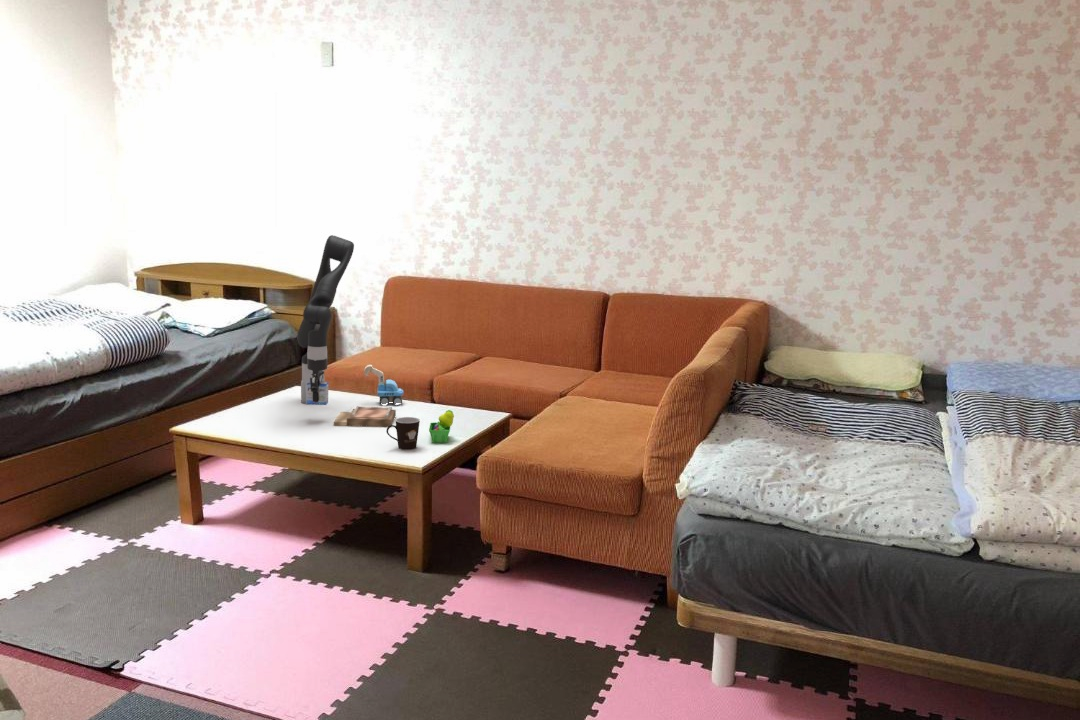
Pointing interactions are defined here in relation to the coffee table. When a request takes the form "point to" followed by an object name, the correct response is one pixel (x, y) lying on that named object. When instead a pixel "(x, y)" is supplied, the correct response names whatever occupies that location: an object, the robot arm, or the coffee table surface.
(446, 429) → the fruit basket
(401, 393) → the toy excavator
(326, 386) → the medicine box
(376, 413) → the tan shallow tray
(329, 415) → the coffee table surface
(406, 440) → the coffee mug
